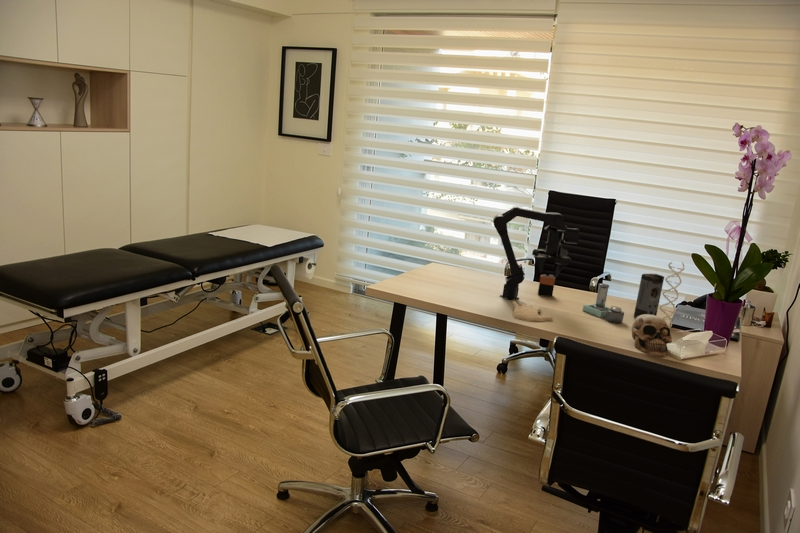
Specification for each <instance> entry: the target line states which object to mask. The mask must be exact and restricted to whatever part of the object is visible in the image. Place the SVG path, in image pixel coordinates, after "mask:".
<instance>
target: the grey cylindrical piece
mask: <svg viewBox="0 0 800 533" xmlns="http://www.w3.org/2000/svg"><path fill="white" fill-rule="evenodd" d="M609 288H610V284H606V283H602V282H601V283H598V289H597V295H596V298H595V300H596V301H595V304H596V305H594V309H597V310H600V311H605V310H606V307H607V306H606V302H607V298H608V293H609ZM605 306H606V307H605Z"/></svg>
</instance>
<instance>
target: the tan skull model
mask: <svg viewBox="0 0 800 533" xmlns="http://www.w3.org/2000/svg"><path fill="white" fill-rule="evenodd" d="M662 318H663V317H661V316H658V315H656V316H655V315H649V314H643V315H640V316H638V317H637V318H636V319H635V318H634V321H633V322H632V325H631V337H632V340H634V347H635V348H636V349H637V350H638V351H641V352H642V353H644V354H646V355H650V356H653V357H655V358H656V357H657V358H665V357H667V356H668V354H669V350H668V346H667V344H671V343H673V336H672V334H671V333H672V332H671V328H669V327H668V326H669V325H668V323H667V321H666V319H665V318H664V319H662Z"/></svg>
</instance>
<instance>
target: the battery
mask: <svg viewBox="0 0 800 533" xmlns="http://www.w3.org/2000/svg"><path fill="white" fill-rule="evenodd" d="M555 281H556V278H555V275H554V274H549V275H547V274H543V273H542V274H540V278H539V282H538V283H539V284H538V290H537V295H538V296H544V297H548V298H549V297H550V298H552V297H553V294H554V288H555Z"/></svg>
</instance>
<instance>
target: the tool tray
mask: <svg viewBox="0 0 800 533" xmlns="http://www.w3.org/2000/svg"><path fill="white" fill-rule="evenodd" d="M582 305H583V304H582ZM594 305H596V303H591V304H584V305H583V306H582V312H585V313H587V314H589V315H593V316H595V317H597V316H598V318H600V317H602V318H606V313H607V309H611V307H608V306H606V305H605V307H606V310H605V311H600V310H597V309H594Z"/></svg>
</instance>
